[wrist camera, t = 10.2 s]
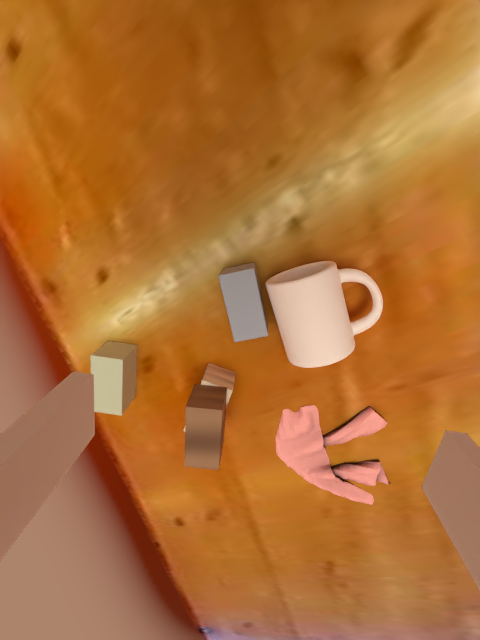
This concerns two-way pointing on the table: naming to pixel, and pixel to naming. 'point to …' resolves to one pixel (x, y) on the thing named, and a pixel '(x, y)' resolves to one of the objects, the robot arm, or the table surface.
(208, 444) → the walnut brick
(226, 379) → the birch brick
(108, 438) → the table surface
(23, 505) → the robot arm
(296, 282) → the mug
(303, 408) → the cloth
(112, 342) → the sage brick
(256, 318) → the slate brick
